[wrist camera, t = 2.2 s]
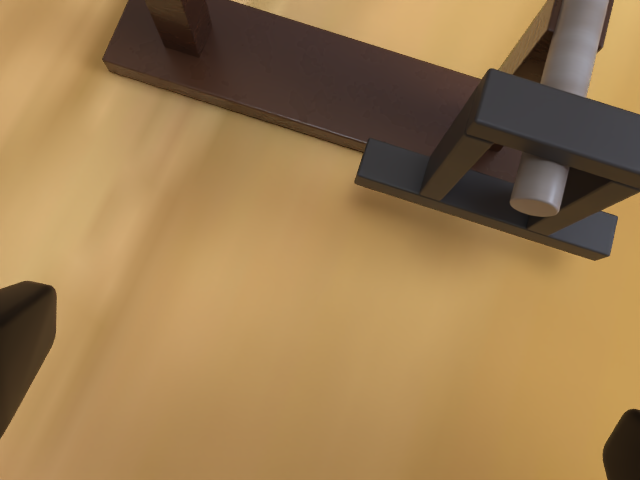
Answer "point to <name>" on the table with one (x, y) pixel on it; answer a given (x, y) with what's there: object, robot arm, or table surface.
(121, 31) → the rack
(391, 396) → the table surface
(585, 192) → the black piece
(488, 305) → the table surface
